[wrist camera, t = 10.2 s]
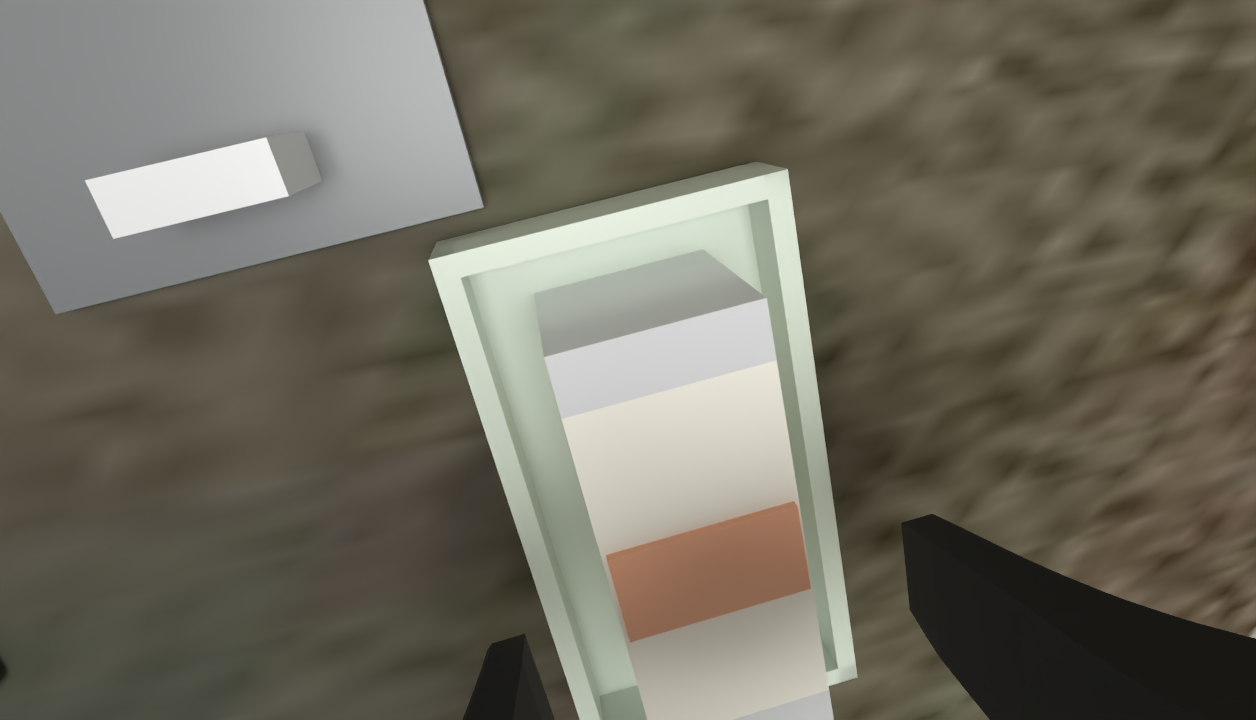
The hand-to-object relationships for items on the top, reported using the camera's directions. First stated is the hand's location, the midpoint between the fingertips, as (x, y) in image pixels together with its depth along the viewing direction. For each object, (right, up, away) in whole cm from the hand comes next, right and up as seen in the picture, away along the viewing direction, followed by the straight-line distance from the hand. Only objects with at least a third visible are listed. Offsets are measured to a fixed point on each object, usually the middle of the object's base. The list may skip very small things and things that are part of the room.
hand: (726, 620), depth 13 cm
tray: (-1, +2, +6) cm, 6 cm away
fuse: (-1, +2, +5) cm, 6 cm away
